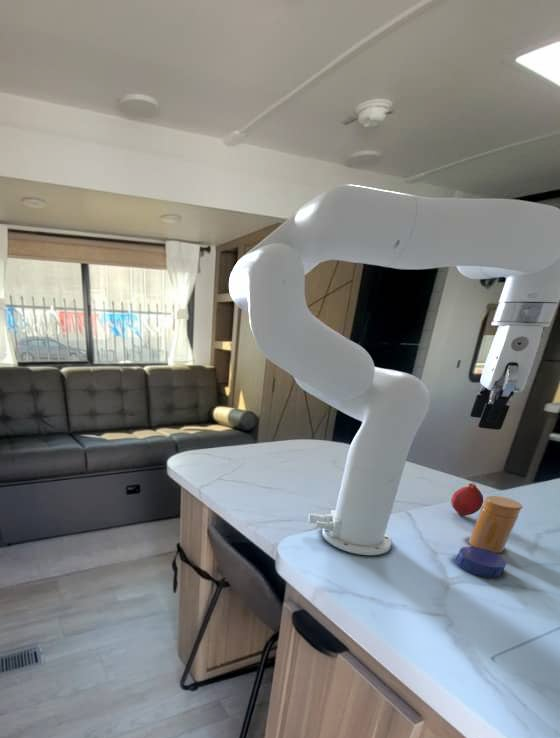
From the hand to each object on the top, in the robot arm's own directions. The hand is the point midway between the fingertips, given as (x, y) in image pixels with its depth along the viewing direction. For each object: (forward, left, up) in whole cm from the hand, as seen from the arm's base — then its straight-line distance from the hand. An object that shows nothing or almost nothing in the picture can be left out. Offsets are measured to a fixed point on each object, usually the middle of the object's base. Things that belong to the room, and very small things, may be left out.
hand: (484, 422), depth 72 cm
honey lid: (+2, -11, -21) cm, 24 cm away
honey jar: (+7, -2, -23) cm, 24 cm away
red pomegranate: (+8, +12, -24) cm, 27 cm away
